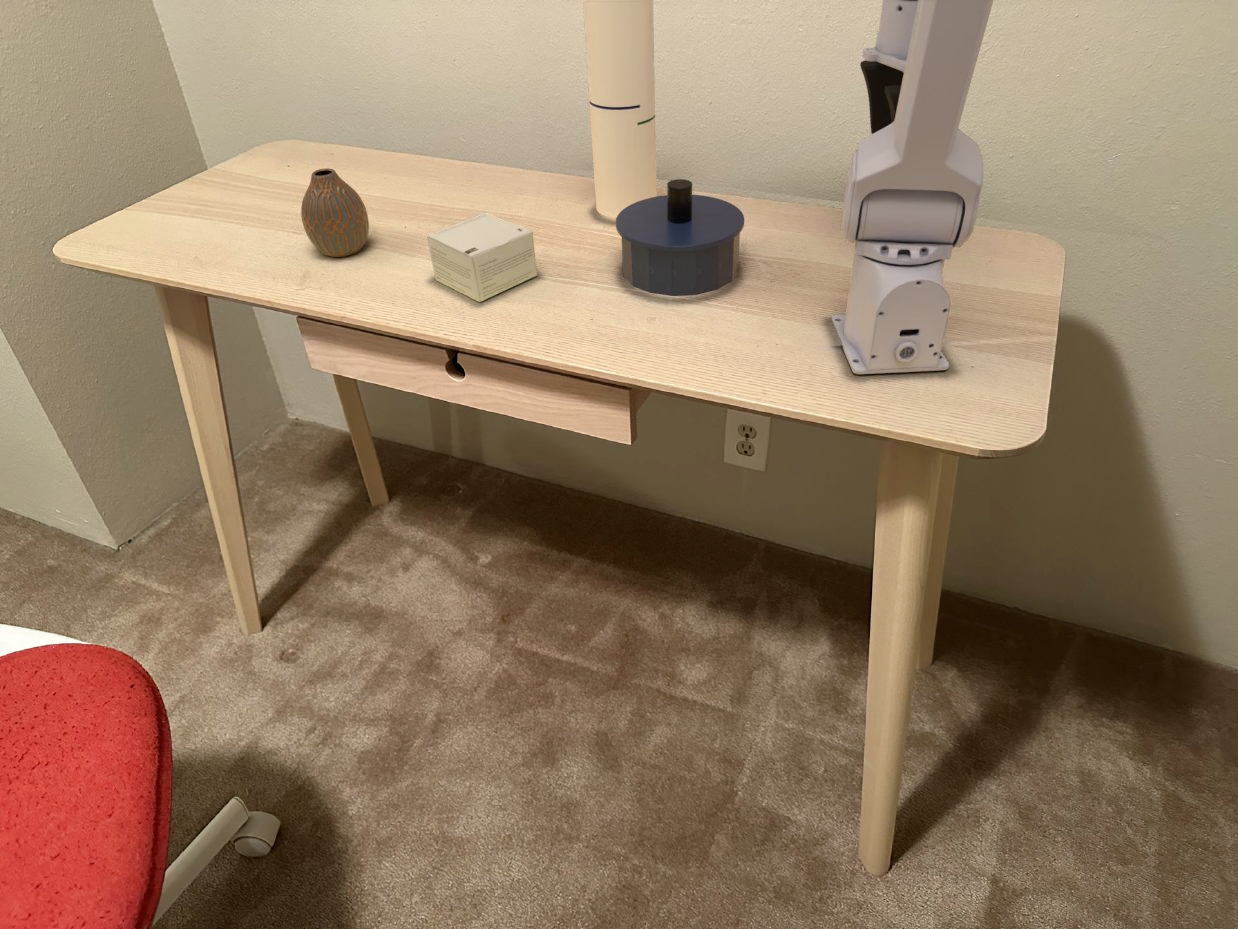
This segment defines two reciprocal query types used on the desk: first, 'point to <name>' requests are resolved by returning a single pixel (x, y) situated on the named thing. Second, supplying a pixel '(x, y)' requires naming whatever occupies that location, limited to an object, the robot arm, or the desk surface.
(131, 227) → the desk surface
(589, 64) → the cylindrical container
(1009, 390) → the desk surface
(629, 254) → the tin
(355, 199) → the vase
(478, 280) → the small box
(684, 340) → the desk surface
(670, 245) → the tin lid
